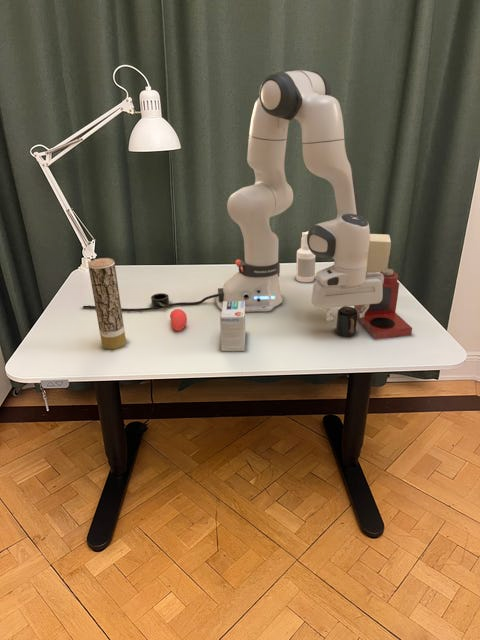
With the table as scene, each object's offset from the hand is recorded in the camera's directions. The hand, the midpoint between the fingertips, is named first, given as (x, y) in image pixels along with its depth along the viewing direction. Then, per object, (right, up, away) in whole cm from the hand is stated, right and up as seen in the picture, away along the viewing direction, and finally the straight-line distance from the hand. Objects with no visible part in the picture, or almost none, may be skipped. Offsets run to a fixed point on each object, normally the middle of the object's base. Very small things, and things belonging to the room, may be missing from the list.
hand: (345, 318), depth 140 cm
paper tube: (-67, -8, -1) cm, 67 cm away
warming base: (+13, -3, +4) cm, 14 cm away
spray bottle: (-6, +15, +41) cm, 44 cm away
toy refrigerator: (+15, +7, +25) cm, 30 cm away
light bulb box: (-32, -7, -2) cm, 33 cm away
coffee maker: (+11, 0, +11) cm, 16 cm away
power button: (+14, +13, +5) cm, 20 cm away
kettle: (+1, -4, +2) cm, 5 cm away
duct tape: (-57, +5, +22) cm, 62 cm away
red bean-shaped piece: (-50, -2, +9) cm, 50 cm away
